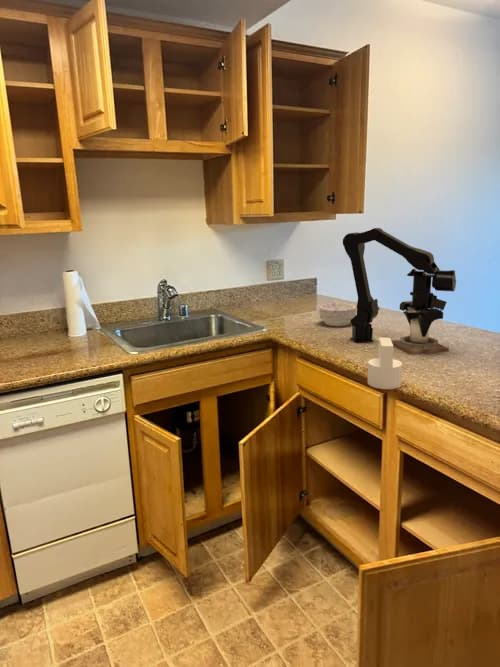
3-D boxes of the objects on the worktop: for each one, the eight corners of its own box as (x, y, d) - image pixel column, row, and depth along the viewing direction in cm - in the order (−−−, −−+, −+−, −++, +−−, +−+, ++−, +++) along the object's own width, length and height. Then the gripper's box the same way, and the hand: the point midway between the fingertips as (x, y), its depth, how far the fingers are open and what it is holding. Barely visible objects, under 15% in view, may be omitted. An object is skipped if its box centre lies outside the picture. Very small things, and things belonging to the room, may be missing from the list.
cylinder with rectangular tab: (403, 389, 127) (405, 346, 124) (368, 388, 128) (370, 345, 126) (399, 378, 135) (401, 337, 133) (366, 377, 137) (367, 337, 134)
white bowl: (340, 330, 193) (340, 310, 191) (312, 324, 204) (312, 306, 202) (362, 323, 202) (363, 305, 200) (334, 318, 213) (334, 301, 211)
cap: (415, 343, 161) (416, 322, 159) (406, 338, 167) (407, 319, 165) (431, 341, 162) (433, 321, 160) (422, 337, 168) (423, 318, 166)
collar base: (409, 354, 157) (410, 347, 157) (390, 343, 171) (390, 336, 170) (448, 351, 160) (449, 344, 159) (426, 340, 173) (426, 334, 172)
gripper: (460, 292, 153) (456, 339, 156) (428, 284, 170) (426, 326, 174) (428, 294, 151) (425, 342, 155) (399, 286, 169) (397, 328, 172)
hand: (418, 334), depth 164 cm, fingers closed on cap, 6 cm apart
